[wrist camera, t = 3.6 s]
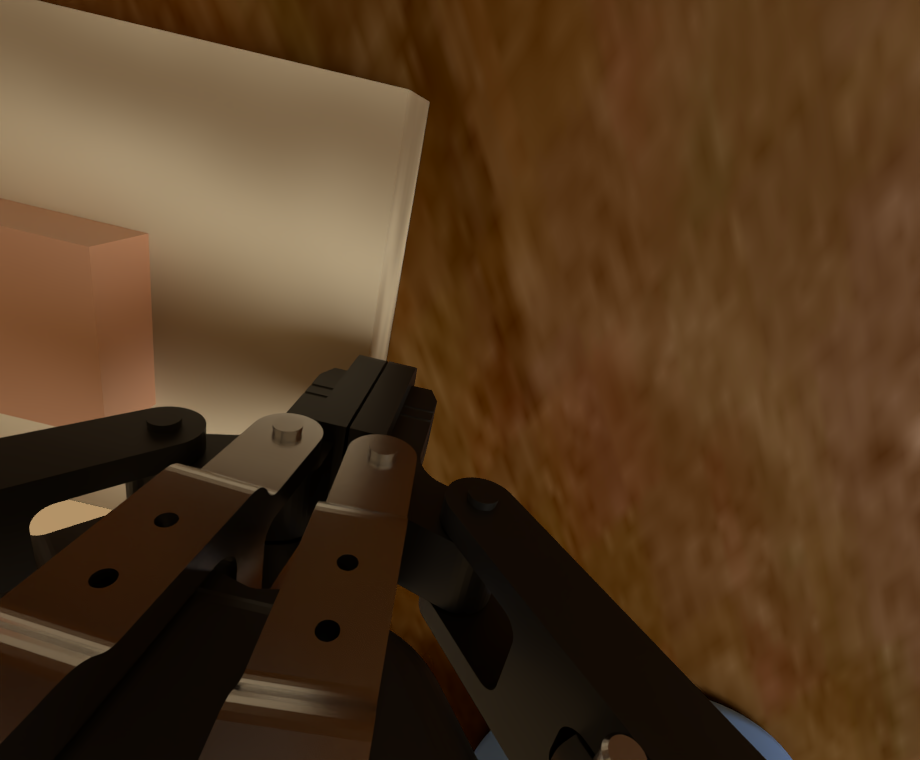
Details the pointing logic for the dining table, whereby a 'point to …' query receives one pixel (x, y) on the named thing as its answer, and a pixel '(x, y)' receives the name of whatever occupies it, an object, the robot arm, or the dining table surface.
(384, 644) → the robot arm
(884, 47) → the dining table surface
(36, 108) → the birch board
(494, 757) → the water jug
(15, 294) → the terracotta tile
